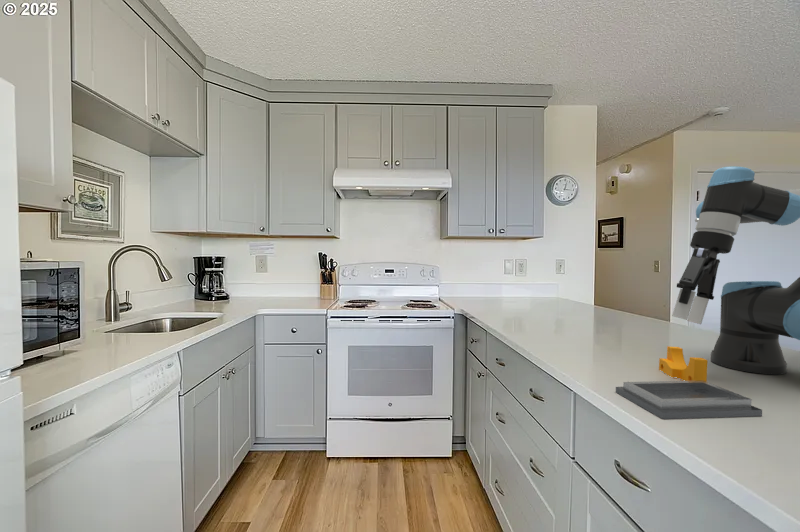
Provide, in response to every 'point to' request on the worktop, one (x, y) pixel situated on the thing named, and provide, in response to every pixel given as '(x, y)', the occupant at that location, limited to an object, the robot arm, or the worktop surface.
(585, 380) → the worktop surface
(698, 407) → the rail plate
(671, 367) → the pipe clamp
